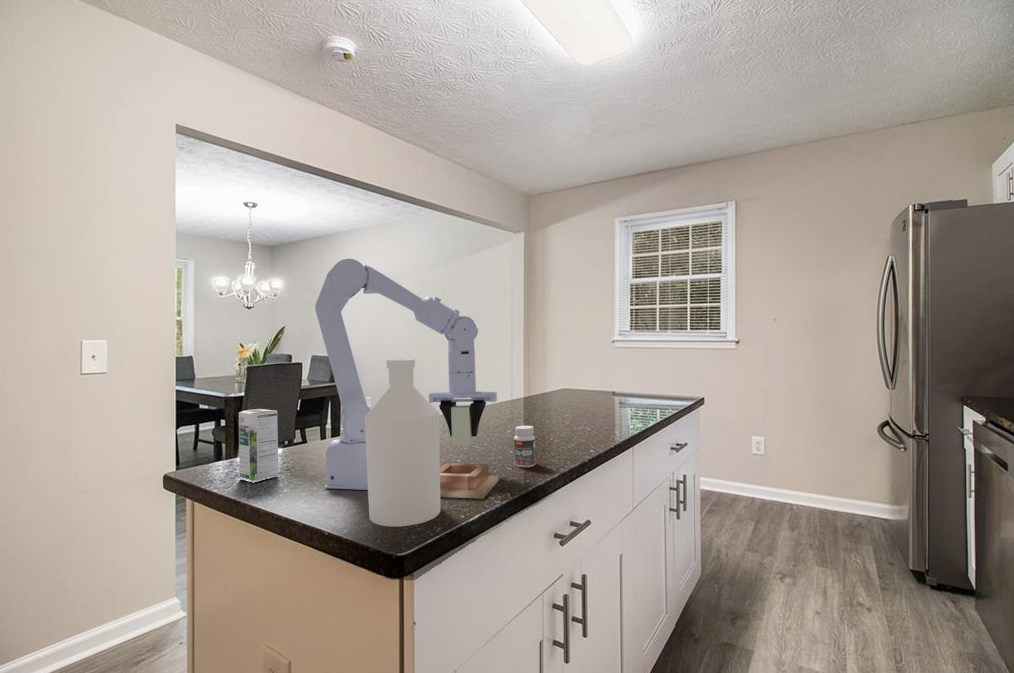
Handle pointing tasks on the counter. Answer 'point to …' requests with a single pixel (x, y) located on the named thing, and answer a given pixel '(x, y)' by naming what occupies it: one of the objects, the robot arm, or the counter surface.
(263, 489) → the counter surface
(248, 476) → the syrup box
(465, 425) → the peg
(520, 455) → the pill bottle
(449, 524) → the counter surface
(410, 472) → the bottle
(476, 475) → the socket block
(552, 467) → the counter surface
